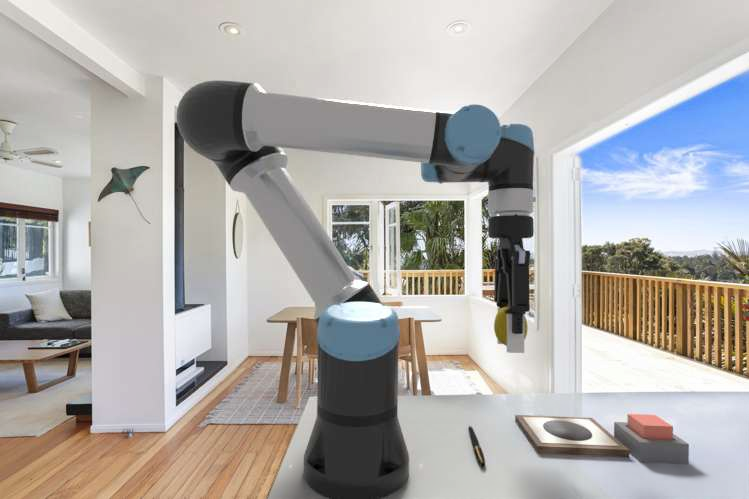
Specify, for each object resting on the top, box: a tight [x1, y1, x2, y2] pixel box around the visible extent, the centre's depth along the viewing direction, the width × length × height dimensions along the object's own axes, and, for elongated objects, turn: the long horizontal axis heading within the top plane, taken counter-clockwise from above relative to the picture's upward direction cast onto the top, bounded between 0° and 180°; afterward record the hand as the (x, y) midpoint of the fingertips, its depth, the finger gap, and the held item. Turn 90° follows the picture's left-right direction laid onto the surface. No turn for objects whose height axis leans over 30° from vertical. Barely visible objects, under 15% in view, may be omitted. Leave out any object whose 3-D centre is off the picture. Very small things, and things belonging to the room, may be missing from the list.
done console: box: [613, 421, 690, 465], centre depth 65 cm, size 7×7×3 cm
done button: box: [626, 413, 674, 440], centre depth 65 cm, size 4×4×2 cm
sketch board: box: [514, 414, 630, 459], centre depth 69 cm, size 14×12×1 cm
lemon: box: [493, 305, 528, 347], centre depth 70 cm, size 6×6×8 cm
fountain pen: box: [467, 424, 486, 468], centre depth 65 cm, size 14×1×2 cm, turn 175°
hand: (510, 347), depth 70 cm, fingers closed on lemon, 5 cm apart
